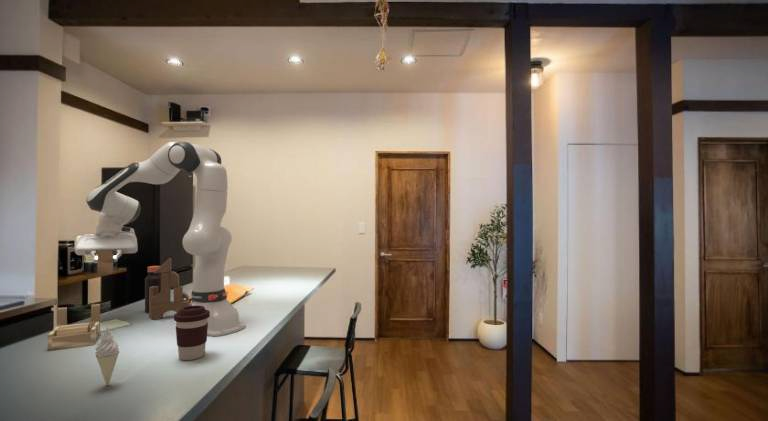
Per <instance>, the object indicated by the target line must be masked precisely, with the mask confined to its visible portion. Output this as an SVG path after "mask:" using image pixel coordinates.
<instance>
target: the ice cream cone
mask: <svg viewBox="0 0 768 421" xmlns="http://www.w3.org/2000/svg"><path fill="white" fill-rule="evenodd" d="M100 340H101V341H100V342H99V343H98V344H97V345H96V346H97V347H95V349H94V350H95V351H96V352H95V358H96V360H97V363H98V365H99V369H100V371H101V374H102V376H103V380H104V383H105V386H107V385H108V386H109V385H110V382H111V378H112V376H113V373H114V372H113V371H114V369H115V366H116V362H117V360H118V356H119V354H120V349H119V346H120V345H119V344H118V342H117V341H115V339H114V335H112V333H111V330H109V329H108V327H107V328H106V331H104V333H103V335H102V337H101V338H100Z"/></svg>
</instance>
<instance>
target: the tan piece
mask: <svg viewBox="0 0 768 421" xmlns="http://www.w3.org/2000/svg"><path fill="white" fill-rule="evenodd" d="M67 315H68V307H57V308H56V326H55V327H54V328H53V329H52V330H51V331H50V332H49V333H48V334H47V351H48V352H49V351H57V350H63V349H64V350H65V349H71V348H79V347H86V346H94V345H95V344H96V342H97V340H98V339H99V338H100V336H101V332H100V323H101V304H99V303H97V304H91V305H90V317H91V318H90V322H84V323H75V324H74V323H73V324H68V316H67ZM90 325H91V327H90Z"/></svg>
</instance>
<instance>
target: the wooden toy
mask: <svg viewBox="0 0 768 421" xmlns="http://www.w3.org/2000/svg"><path fill="white" fill-rule="evenodd" d="M159 266H160V267H159V268H158V269H157V270H156V271H155V272H154V273H159V274H160V275H161V291H160V293H159V294H158V286H151V287H150V288H149V313H148V316H149V318H151V320H162V319H163V316H164V314H165V313H167V312H171V311H174V312H175V313H178V312H179V310H180V309H181V308H183V307H187V306H191V305H190V302H191V301H190V296H189V295H188V293H186V292H184V286H183V285H180V275H179V273H177V272H175V271H172V258H171V257H169V258H168V259H166V261H165V262H164V263H163V264H162V265H159ZM171 289H173V300H172V299H171V294H172V292H171V291H172V290H171ZM185 299H186V300H185ZM171 300H172V301H171Z"/></svg>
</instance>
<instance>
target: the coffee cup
mask: <svg viewBox="0 0 768 421" xmlns="http://www.w3.org/2000/svg"><path fill="white" fill-rule="evenodd" d="M209 316H210V311H209V310H205V308H204V306H199V305H195V306H191V305H190V306H187V307H183V308H181V309H180V310H179V312H178V313H177V312H175V313H174V314H173V321H174V322H176V323H175V335H176V336H175V337H176V346H177V352H178V359H179V360H182V361H193V360H197V359H201V358H202V357H203V356H204V357H205V353H206V347H207V346H206V344H207V340H208V335H207V329H208V322H207V319H208V317H209Z"/></svg>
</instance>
